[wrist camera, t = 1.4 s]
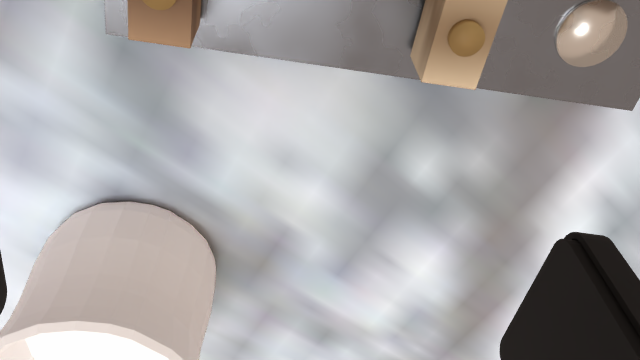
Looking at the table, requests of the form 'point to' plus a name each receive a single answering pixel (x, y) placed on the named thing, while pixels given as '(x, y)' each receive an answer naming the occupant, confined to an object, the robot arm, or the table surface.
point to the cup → (115, 289)
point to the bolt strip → (400, 30)
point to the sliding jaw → (455, 40)
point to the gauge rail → (164, 21)
